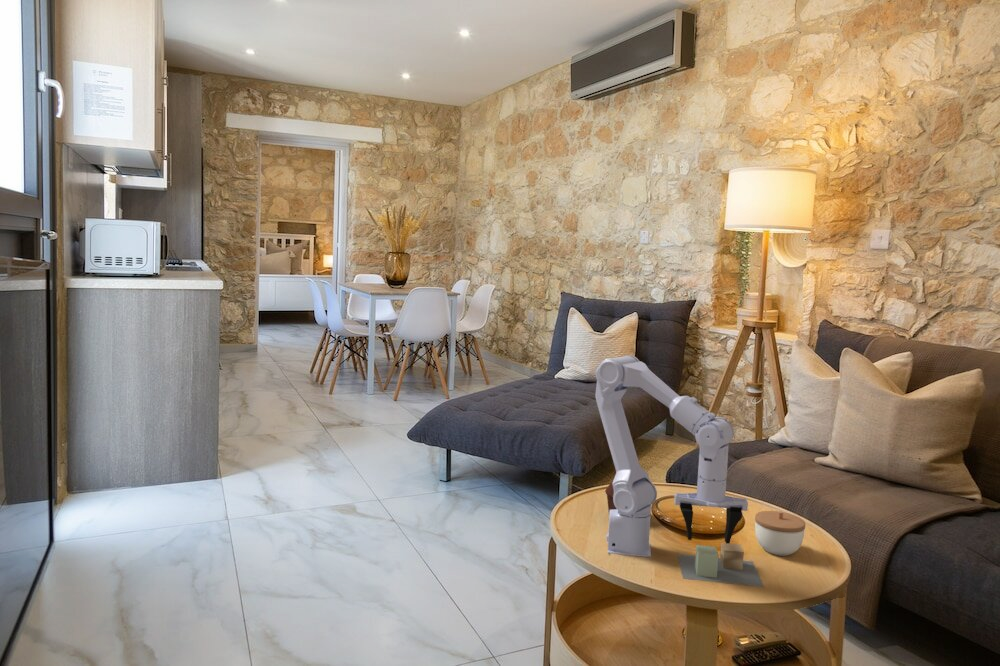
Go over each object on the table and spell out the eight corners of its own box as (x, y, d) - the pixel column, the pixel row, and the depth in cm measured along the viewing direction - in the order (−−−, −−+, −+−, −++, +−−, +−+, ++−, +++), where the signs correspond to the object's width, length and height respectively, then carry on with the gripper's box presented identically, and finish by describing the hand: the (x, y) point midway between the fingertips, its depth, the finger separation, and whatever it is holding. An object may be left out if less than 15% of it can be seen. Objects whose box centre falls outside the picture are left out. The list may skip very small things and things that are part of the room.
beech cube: (723, 568, 149) (724, 550, 148) (720, 560, 153) (721, 542, 152) (742, 569, 148) (743, 552, 148) (739, 562, 152) (740, 544, 152)
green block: (696, 575, 145) (698, 552, 144) (694, 567, 149) (696, 544, 148) (716, 577, 144) (718, 554, 144) (714, 569, 148) (715, 546, 148)
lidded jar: (772, 563, 153) (775, 522, 152) (743, 543, 163) (746, 505, 162) (813, 559, 156) (816, 519, 155) (782, 540, 166) (785, 502, 165)
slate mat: (683, 580, 143) (683, 578, 143) (677, 555, 155) (677, 554, 155) (763, 588, 141) (764, 586, 141) (752, 563, 153) (752, 561, 153)
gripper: (678, 480, 141) (674, 544, 143) (752, 485, 139) (747, 550, 141) (675, 469, 148) (671, 531, 150) (745, 475, 146) (741, 537, 148)
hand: (708, 539), depth 146 cm, fingers open, 7 cm apart
